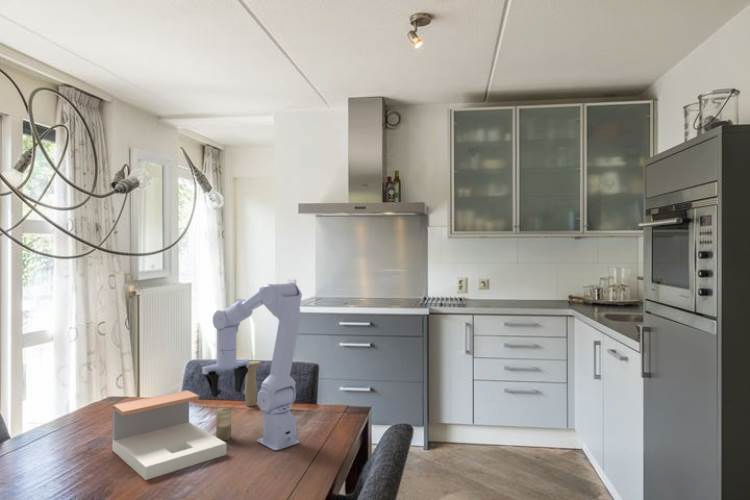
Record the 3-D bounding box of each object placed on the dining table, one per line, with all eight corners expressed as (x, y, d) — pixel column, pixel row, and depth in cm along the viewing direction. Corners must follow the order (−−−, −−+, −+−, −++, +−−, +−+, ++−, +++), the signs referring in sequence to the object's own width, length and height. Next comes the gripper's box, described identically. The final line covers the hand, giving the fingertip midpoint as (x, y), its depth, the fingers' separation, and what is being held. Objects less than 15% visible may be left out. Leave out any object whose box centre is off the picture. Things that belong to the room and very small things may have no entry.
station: (226, 454, 123) (226, 408, 123) (145, 480, 109) (146, 427, 109) (186, 430, 140) (187, 390, 140) (112, 450, 126) (112, 404, 126)
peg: (233, 438, 134) (233, 409, 134) (220, 442, 131) (220, 413, 132) (226, 434, 137) (226, 406, 137) (213, 438, 134) (213, 409, 134)
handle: (258, 407, 161) (258, 363, 162) (239, 407, 162) (239, 363, 162) (261, 403, 166) (262, 360, 167) (243, 403, 166) (243, 360, 167)
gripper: (241, 344, 153) (241, 386, 152) (197, 350, 143) (197, 396, 142) (252, 347, 148) (252, 391, 147) (208, 353, 138) (208, 400, 137)
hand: (226, 393), depth 145 cm, fingers open, 7 cm apart
